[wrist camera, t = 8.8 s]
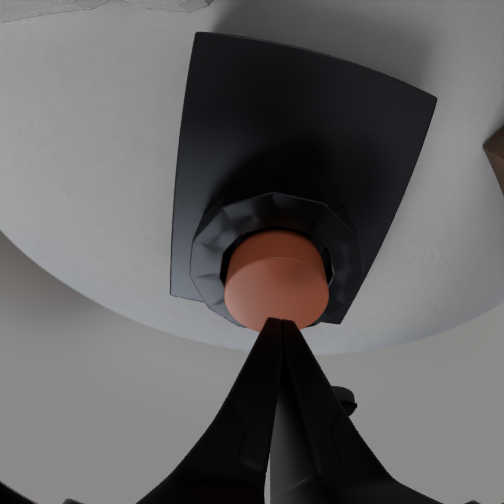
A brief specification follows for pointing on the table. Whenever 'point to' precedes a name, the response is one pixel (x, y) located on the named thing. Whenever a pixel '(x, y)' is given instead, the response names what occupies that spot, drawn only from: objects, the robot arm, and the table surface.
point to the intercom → (84, 6)
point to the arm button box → (288, 161)
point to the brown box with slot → (496, 155)
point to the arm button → (276, 280)
